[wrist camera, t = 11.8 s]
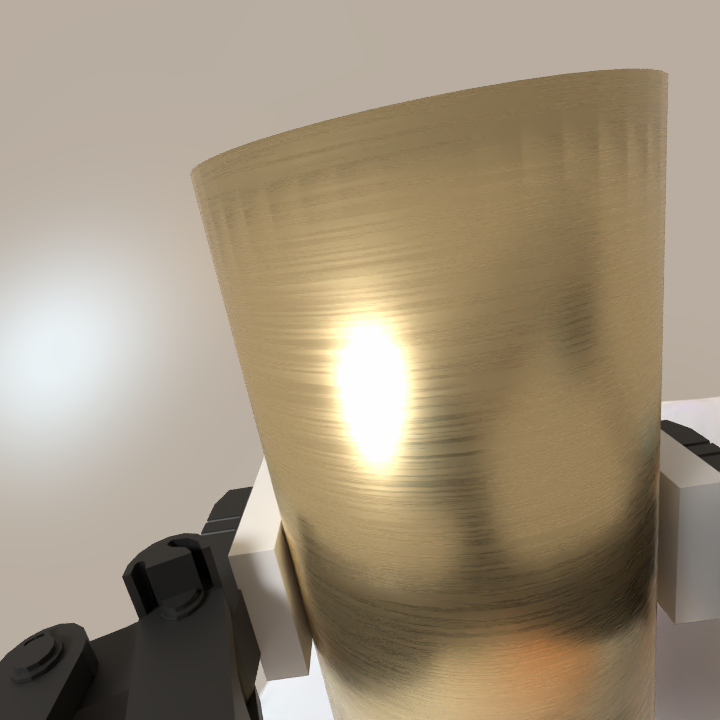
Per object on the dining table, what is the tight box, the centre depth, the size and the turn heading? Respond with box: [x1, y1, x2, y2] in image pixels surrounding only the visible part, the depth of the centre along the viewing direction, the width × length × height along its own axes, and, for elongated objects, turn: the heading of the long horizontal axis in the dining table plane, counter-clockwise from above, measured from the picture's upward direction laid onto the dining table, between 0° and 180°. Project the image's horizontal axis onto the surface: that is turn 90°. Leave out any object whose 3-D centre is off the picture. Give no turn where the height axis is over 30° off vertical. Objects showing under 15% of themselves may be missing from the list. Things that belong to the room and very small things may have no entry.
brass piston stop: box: [190, 69, 668, 720], centre depth 10 cm, size 6×6×16 cm
